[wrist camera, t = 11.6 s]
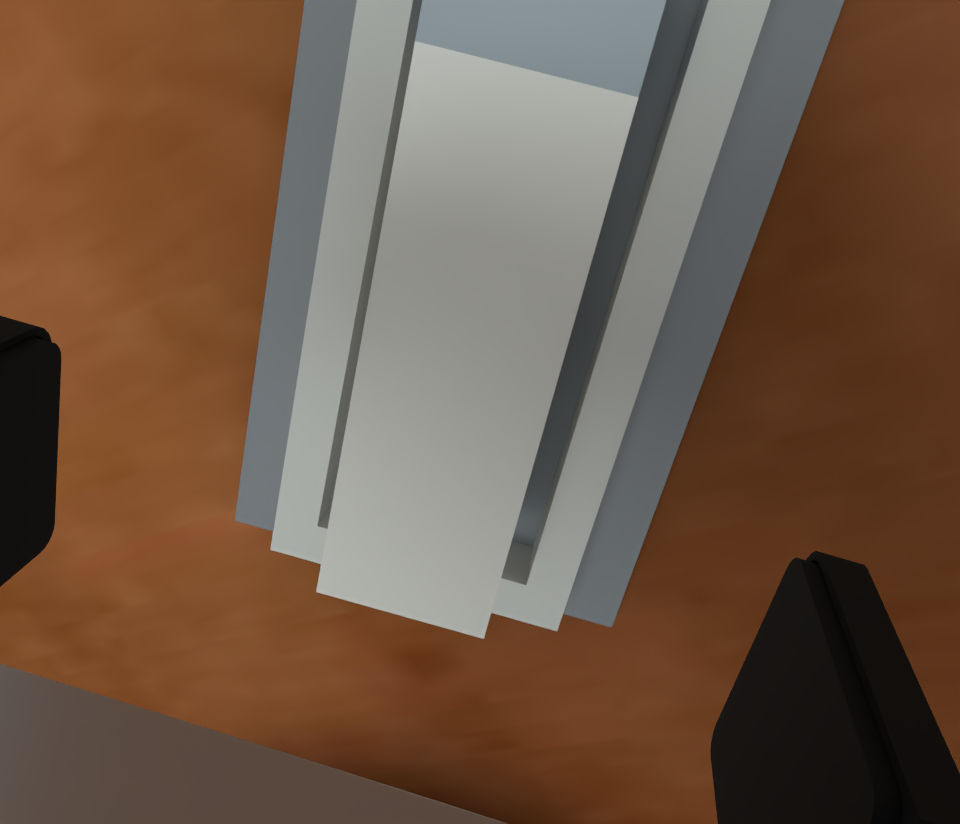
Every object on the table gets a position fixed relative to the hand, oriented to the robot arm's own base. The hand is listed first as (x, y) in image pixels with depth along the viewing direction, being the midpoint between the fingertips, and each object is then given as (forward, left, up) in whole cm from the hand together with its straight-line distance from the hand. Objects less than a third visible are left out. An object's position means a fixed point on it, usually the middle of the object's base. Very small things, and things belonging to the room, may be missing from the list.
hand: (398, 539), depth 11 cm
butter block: (0, 0, -13) cm, 13 cm away
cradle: (0, 0, -14) cm, 14 cm away
